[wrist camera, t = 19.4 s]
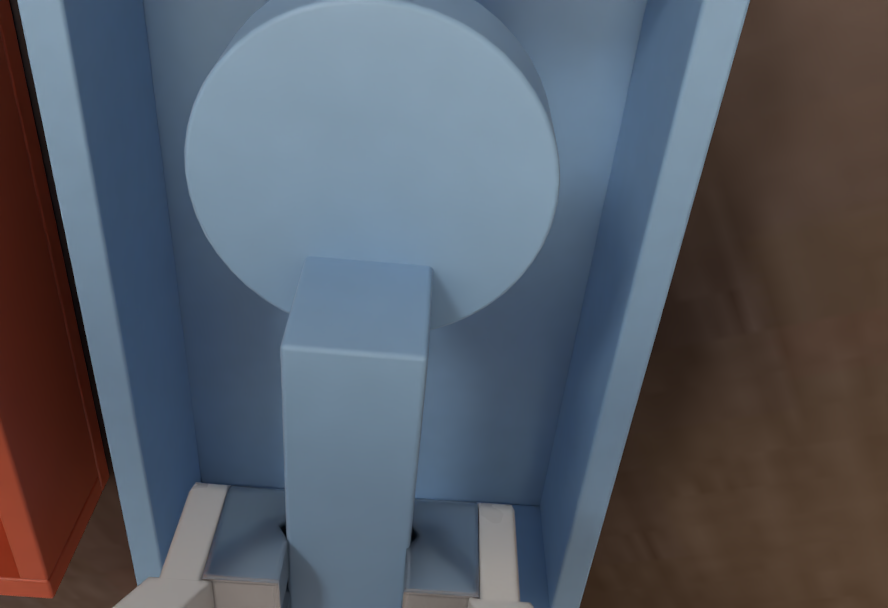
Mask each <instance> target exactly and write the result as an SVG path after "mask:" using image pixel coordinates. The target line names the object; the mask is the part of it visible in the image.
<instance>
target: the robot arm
mask: <svg viewBox="0 0 888 608" xmlns="http://www.w3.org/2000/svg"><path fill="white" fill-rule="evenodd" d="M289 573H290V572H289V553H288V540H287V537H286V507H285V490H279V489H268V488H258V487H247V486H237V485H222V484H210V483H199V482H196V483H195V484H194V486H193V487H192V488H191V490H190V491H189V494H188V497H187V500H186V503H185V505H184V508H183V511H182V514H181V517H180V520H179V523H178V525H177V528H176V531H175V534H174V537H173V540H172V543H171V545H170V548H169V551H168V554H167V557H166V560H165V563H164V565H163V568H162V571H161V574H160V577H148V578H147V579H146V580H145V581H143V582H142V583H141V584H140V585H139V586H137V587H136V588H135V589H134V590H133V591H131V592H130V593H129V594H128V595H127V596H125V597H124V598H123V599H122V600H121V601H120V602H118V603H117V604H116V605H115V606H114V607H112V608H291V599H290V591H289V588H288V578H289ZM401 608H534V606H533V605H532V604H531V603H530V602H521V601H520V589H519V573H518V558H517V542H516V527H515V511H514V509H513V507H512V505H506V504H492V503H478V504H477V503H476V502H468V501H450V500H433V499H416V498H415V501H414V511H413V522H412V532H411V542H410V546H409V548H407V549H406V556H405V567H404V577H403V592H402V601H401Z"/></svg>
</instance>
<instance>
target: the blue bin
mask: <svg viewBox="0 0 888 608" xmlns="http://www.w3.org/2000/svg"><path fill="white" fill-rule="evenodd" d="M269 1H270V0H17V2H18V7H19V11H20V16H21V21H22V26H23V31H24V36H25V41H26V45H27V50H28V55H29V60H30V65H31V70H32V75H33V80H34V84H35V89H36V94H37V99H38V104H39V109H40V114H41V118H42V123H43V128H44V133H45V138H46V143H47V148H48V153H49V157H50V162H51V167H52V172H53V177H54V182H55V187H56V191H57V196H58V201H59V206H60V211H61V216H62V221H63V226H64V230H65V235H66V240H67V245H68V250H69V255H70V260H71V265H72V269H73V274H74V279H75V284H76V289H77V294H78V299H79V303H80V308H81V313H82V318H83V323H84V328H85V333H86V338H87V342H88V347H89V352H90V357H91V362H92V367H93V372H94V376H95V381H96V386H97V391H98V396H99V401H100V406H101V411H102V415H103V420H104V425H105V430H106V435H107V440H108V445H109V449H110V454H111V459H112V464H113V469H114V474H115V479H116V484H117V488H118V493H119V498H120V503H121V508H122V513H123V518H124V523H125V527H126V532H127V537H128V542H129V547H130V552H131V557H132V561H133V566H134V571H135V576H136V581H137V586H139V585H140V584H141V583H142V582H143V581H145V580H146V579H147V578H148V577H160V574H161V571H162V568H163V565H164V563H165V560H166V557H167V554H168V551H169V548H170V545H171V543H172V540H173V537H174V534H175V531H176V528H177V525H178V523H179V520H180V517H181V514H182V511H183V508H184V505H185V503H186V500H187V497H188V494H189V491H190V490H191V488H192V487H193V486H194V484H195V483H196V482H199V483H210V484H222V485H237V486H247V487H258V488H268V489H279V490H285V477H284V447H283V417H282V387H281V357H280V346H281V343H282V339H283V335H284V332H285V328H286V325H287V321H288V318H289V313H287V312H285V311H283V310H281V309H279V308H278V307H276V306H274V305H273V304H271V303H270V302H268V301H266V300H265V299H263V298H262V297H261V296H259V295H258V294H257V293H255V292H254V291H253V290H252V289H250V288H249V287H248V286H246V285H245V284H244V283H243V282H242V281H241V280H240V279H239V278H238V277H237V276H236V275H235V274H234V273H233V272H232V271H231V270H230V269H229V268H228V266H227V265H226V264H225V263H224V261H223V260H222V259H221V258H220V257H219V255H218V254H217V253H216V251H215V250H214V248H213V246H212V245H211V243H210V242H209V240H208V239H207V237H206V235H205V233H204V231H203V229H202V227H201V225H200V223H199V221H198V219H197V216H196V214H195V211H194V208H193V204H192V201H191V198H190V195H189V191H188V185H187V180H186V174H185V153H184V148H185V139H186V131H187V125H188V121H189V118H190V114H191V110H192V107H193V104H194V101H195V99H196V97H197V95H198V93H199V90H200V88H201V86H202V84H203V82H204V81H205V79H206V77H207V76H208V74H209V73H210V71H211V70H212V68H213V67H214V65H215V64H216V62H217V61H218V59H219V58H220V56H221V55H222V53H223V52H224V51H225V49H226V48H227V46H228V45H229V43H230V42H231V40H232V39H233V37H234V36H235V34H236V33H237V31H238V30H239V29H240V28H241V27H242V26H243V25H244V24H245V22H246V21H247V20H248V19H249V18H250V17H251V16H252V15H253V14H254V13H255V12H256V11H258V10H259V9H260V8H261V7H262V6H264V5H265V4H266V3H267V2H269ZM475 1H476V2H478V3H479V4H481V5H482V6H484V7H485V8H486V9H487V10H488V11H490V12H491V13H492V14H493V15H494V16H496V17H497V18H498V19H499V20H500V21H501V22H502V23H503V24H504V25H505V26H506V27H507V28H508V29H509V30H510V32H511V33H512V34H513V35H514V36H515V37H516V38H517V39H518V41H519V42H520V44H521V45H522V47H523V48H524V50H525V51H526V53H527V54H528V55H529V57H530V58H531V60H532V62H533V64H534V66H535V68H536V70H537V72H538V74H539V76H540V78H541V81H542V84H543V87H544V90H545V93H546V96H547V99H548V104H549V108H550V113H551V118H552V123H553V128H554V133H555V138H556V143H557V149H558V154H559V163H560V187H559V196H558V204H557V208H556V212H555V215H554V219H553V223H552V226H551V228H550V230H549V233H548V235H547V238H546V240H545V242H544V244H543V246H542V248H541V249H540V251H539V253H538V254H537V256H536V258H535V259H534V261H533V262H532V264H531V265H530V266H529V267H528V269H527V270H526V271H525V272H524V274H523V275H522V276H521V277H520V279H519V280H518V281H517V282H516V283H515V284H513V285H512V286H511V287H510V288H509V289H508V290H507V291H506V292H505V293H504V294H503V295H501V296H500V297H499V298H497V299H496V300H495V301H493V302H492V303H491V304H489V305H488V306H486V307H485V308H483V309H481V310H479V311H478V312H476V313H474V314H472V315H471V316H469V317H466V318H464V319H462V320H459V321H457V322H455V323H452V324H450V325H446V326H443V327H440V328H436V329H433V330H430V337H429V356H428V367H427V378H426V388H425V398H424V409H423V419H422V429H421V439H420V450H419V460H418V470H417V481H416V491H415V498H416V499H433V500H450V501H468V502H476V503H477V504H478V503H492V504H506V505H512V507H513V509H514V511H515V527H516V542H517V558H518V573H519V589H520V601H521V602H530V603H531V604H532V605H533V606H534V608H579V607H580V603H581V600H582V596H583V593H584V589H585V586H586V582H587V579H588V575H589V571H590V568H591V564H592V561H593V557H594V554H595V550H596V547H597V543H598V539H599V536H600V532H601V529H602V525H603V522H604V518H605V515H606V511H607V507H608V504H609V500H610V497H611V493H612V490H613V486H614V483H615V479H616V475H617V472H618V468H619V465H620V461H621V458H622V454H623V450H624V447H625V443H626V440H627V436H628V433H629V429H630V426H631V422H632V418H633V415H634V411H635V408H636V404H637V401H638V397H639V394H640V390H641V386H642V383H643V379H644V376H645V372H646V369H647V365H648V362H649V358H650V354H651V351H652V347H653V344H654V340H655V337H656V333H657V330H658V326H659V322H660V319H661V315H662V312H663V308H664V305H665V301H666V298H667V294H668V290H669V287H670V283H671V280H672V276H673V273H674V269H675V266H676V262H677V258H678V255H679V251H680V248H681V244H682V241H683V237H684V233H685V230H686V226H687V223H688V219H689V216H690V212H691V209H692V205H693V201H694V198H695V194H696V191H697V187H698V184H699V180H700V177H701V173H702V169H703V166H704V162H705V159H706V155H707V152H708V148H709V145H710V141H711V137H712V134H713V130H714V127H715V123H716V120H717V116H718V113H719V109H720V105H721V102H722V98H723V95H724V91H725V88H726V84H727V81H728V77H729V73H730V70H731V66H732V63H733V59H734V56H735V52H736V49H737V45H738V41H739V38H740V34H741V31H742V27H743V24H744V20H745V16H746V13H747V9H748V6H749V2H750V0H475Z"/></svg>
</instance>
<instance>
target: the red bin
mask: <svg viewBox="0 0 888 608" xmlns="http://www.w3.org/2000/svg"><path fill="white" fill-rule="evenodd" d="M108 479H109V472H108V467H107V463H106V458H105V453H104V448H103V444H102V439H101V434H100V429H99V425H98V420H97V415H96V410H95V406H94V401H93V396H92V391H91V387H90V382H89V377H88V372H87V368H86V363H85V358H84V354H83V349H82V344H81V339H80V335H79V330H78V325H77V320H76V316H75V311H74V306H73V301H72V297H71V292H70V287H69V282H68V278H67V273H66V268H65V263H64V259H63V254H62V249H61V244H60V240H59V235H58V230H57V225H56V221H55V216H54V211H53V207H52V202H51V197H50V192H49V188H48V183H47V178H46V173H45V169H44V164H43V159H42V154H41V150H40V145H39V140H38V135H37V131H36V126H35V121H34V116H33V112H32V107H31V102H30V97H29V93H28V88H27V83H26V78H25V74H24V69H23V64H22V60H21V55H20V50H19V45H18V41H17V36H16V31H15V26H14V22H13V17H12V12H11V7H10V3H9V0H0V595H6V596H22V597H37V598H53V597H54V596H55V594H56V591H57V589H58V587H59V585H60V583H61V581H62V578H63V576H64V574H65V572H66V570H67V567H68V565H69V563H70V561H71V559H72V557H73V554H74V552H75V550H76V548H77V546H78V543H79V541H80V539H81V537H82V535H83V533H84V530H85V528H86V526H87V524H88V522H89V520H90V517H91V515H92V513H93V511H94V509H95V506H96V504H97V502H98V500H99V498H100V496H101V493H102V490H104V487H105V485H106V483H107V481H108Z"/></svg>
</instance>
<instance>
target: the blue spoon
mask: <svg viewBox="0 0 888 608" xmlns="http://www.w3.org/2000/svg"><path fill="white" fill-rule="evenodd" d="M184 153H185V174H186V180H187V185H188V191H189V195H190V198H191V201H192V204H193V208H194V211H195V214H196V216H197V219H198V221H199V223H200V225H201V227H202V229H203V231H204V233H205V235H206V237H207V239H208V240H209V242H210V243H211V245H212V246H213V248H214V250H215V251H216V253H217V254H218V255H219V257H220V258H221V259H222V260H223V261H224V263H225V264H226V265H227V266H228V268H229V269H230V270H231V271H232V272H233V273H234V274H235V275H236V276H237V277H238V278H239V279H240V280H241V281H242V282H243V283H244V284H245V285H246V286H248V287H249V288H250V289H252V290H253V291H254V292H255V293H257V294H258V295H259V296H261V297H262V298H263V299H265V300H266V301H268V302H270V303H271V304H273V305H274V306H276V307H278V308H279V309H281V310H283V311H285V312H287V313H289V318H288V321H287V325H286V328H285V332H284V335H283V339H282V343H281V346H280V357H281V387H282V417H283V447H284V477H285V507H286V537H287V540H288V553H289V572H290V573H289V578H288V588H289V591H290V599H291V608H401V601H402V592H403V577H404V567H405V556H406V549H407V548H409V546H410V542H411V532H412V522H413V511H414V501H415V491H416V481H417V470H418V460H419V450H420V439H421V429H422V419H423V409H424V398H425V388H426V378H427V367H428V356H429V337H430V330H433V329H436V328H440V327H443V326H446V325H450V324H452V323H455V322H457V321H459V320H462V319H464V318H466V317H469V316H471V315H472V314H474V313H476V312H478V311H479V310H481V309H483V308H485V307H486V306H488V305H489V304H491V303H492V302H493V301H495V300H496V299H497V298H499V297H500V296H501V295H503V294H504V293H505V292H506V291H507V290H508V289H509V288H510V287H511V286H512V285H513V284H515V283H516V282H517V281H518V280H519V279H520V277H521V276H522V275H523V274H524V272H525V271H526V270H527V269H528V267H529V266H530V265H531V264H532V262H533V261H534V259H535V258H536V256H537V254H538V253H539V251H540V249H541V248H542V246H543V244H544V242H545V240H546V238H547V235H548V233H549V230H550V228H551V226H552V223H553V219H554V215H555V212H556V208H557V204H558V196H559V187H560V163H559V154H558V149H557V143H556V138H555V133H554V128H553V123H552V118H551V113H550V108H549V104H548V99H547V96H546V93H545V90H544V87H543V84H542V81H541V78H540V76H539V74H538V72H537V70H536V68H535V66H534V64H533V62H532V60H531V58H530V57H529V55H528V54H527V53H526V51H525V50H524V48H523V47H522V45H521V44H520V42H519V41H518V39H517V38H516V37H515V36H514V35H513V34H512V33H511V32H510V30H509V29H508V28H507V27H506V26H505V25H504V24H503V23H502V22H501V21H500V20H499V19H498V18H497V17H496V16H494V15H493V14H492V13H491V12H490V11H488V10H487V9H486V8H485V7H484V6H482V5H481V4H479V3H478V2H476V1H475V0H270V1H269V2H267V3H266V4H265V5H264V6H262V7H261V8H260V9H259V10H258V11H256V12H255V13H254V14H253V15H252V16H251V17H250V18H249V19H248V20H247V21H246V22H245V24H244V25H243V26H242V27H241V28H240V29H239V30H238V31H237V33H236V34H235V36H234V37H233V39H232V40H231V42H230V43H229V45H228V46H227V48H226V49H225V51H224V52H223V53H222V55H221V56H220V58H219V59H218V61H217V62H216V64H215V65H214V67H213V68H212V70H211V71H210V73H209V74H208V76H207V77H206V79H205V81H204V82H203V84H202V86H201V88H200V90H199V93H198V95H197V97H196V99H195V101H194V104H193V107H192V110H191V114H190V118H189V121H188V125H187V131H186V139H185V148H184Z"/></svg>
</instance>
